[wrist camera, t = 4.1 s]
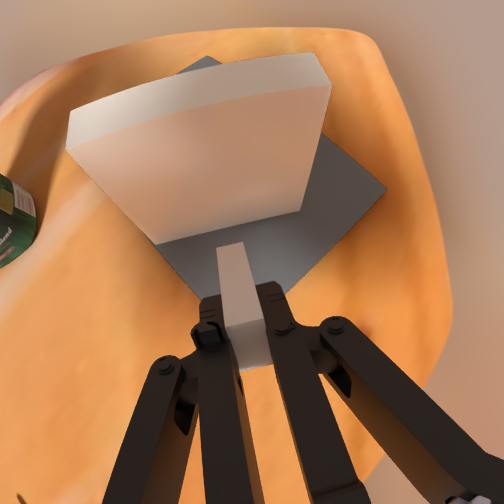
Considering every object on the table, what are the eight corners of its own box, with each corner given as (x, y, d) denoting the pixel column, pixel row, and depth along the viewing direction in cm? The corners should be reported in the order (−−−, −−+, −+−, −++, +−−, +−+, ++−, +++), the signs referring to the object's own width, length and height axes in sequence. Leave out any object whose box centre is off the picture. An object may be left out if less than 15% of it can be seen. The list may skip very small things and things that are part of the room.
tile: (299, 210, 25) (332, 84, 12) (155, 244, 25) (65, 149, 12) (290, 181, 26) (310, 48, 13) (151, 214, 26) (71, 107, 12)
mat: (81, 152, 29) (78, 148, 28) (208, 60, 32) (207, 55, 31) (237, 339, 24) (236, 339, 23) (384, 192, 27) (387, 189, 26)
